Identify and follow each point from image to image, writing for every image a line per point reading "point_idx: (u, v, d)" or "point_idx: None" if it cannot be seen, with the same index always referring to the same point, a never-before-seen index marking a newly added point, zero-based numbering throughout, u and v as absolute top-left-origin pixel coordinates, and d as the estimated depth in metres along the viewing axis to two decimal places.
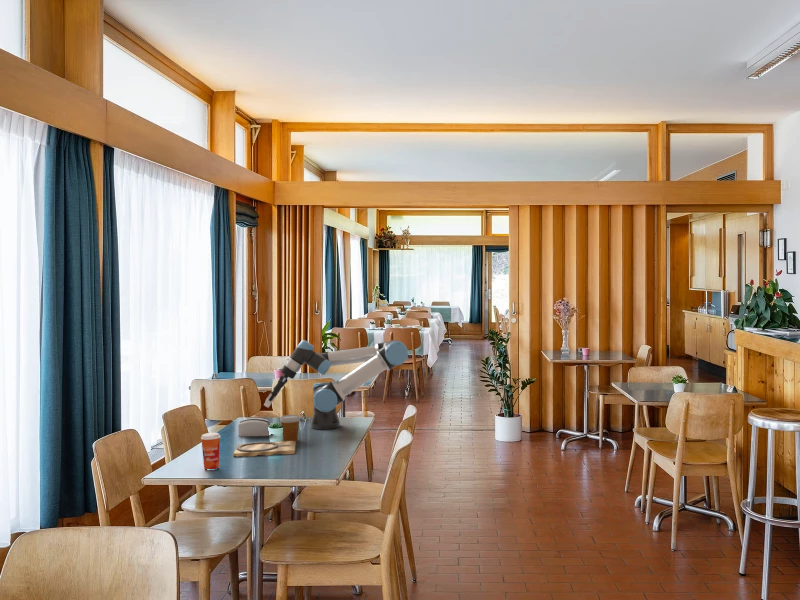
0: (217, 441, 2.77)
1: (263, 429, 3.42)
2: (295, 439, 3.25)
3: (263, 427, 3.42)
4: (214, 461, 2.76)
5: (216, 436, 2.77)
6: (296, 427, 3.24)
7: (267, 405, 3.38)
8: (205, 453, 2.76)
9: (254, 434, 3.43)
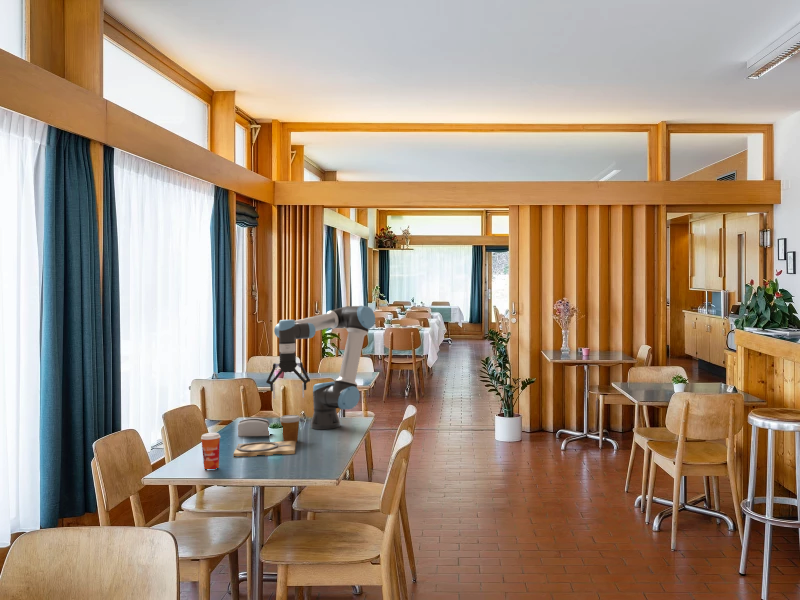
0: (217, 441, 2.77)
1: (263, 429, 3.42)
2: (295, 439, 3.25)
3: (263, 427, 3.42)
4: (214, 461, 2.76)
5: (216, 436, 2.77)
6: (296, 427, 3.24)
7: None
8: (205, 453, 2.76)
9: (254, 434, 3.43)
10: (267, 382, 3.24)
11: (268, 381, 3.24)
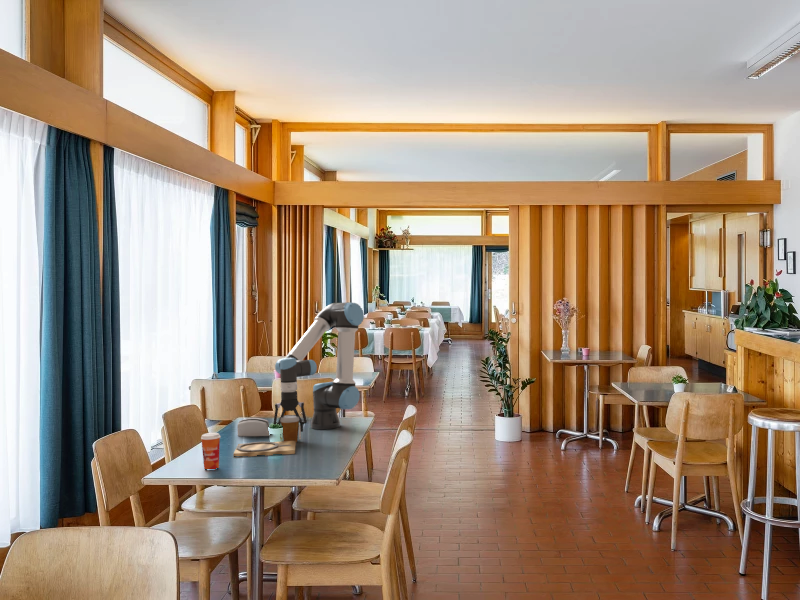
0: (217, 441, 2.77)
1: (262, 429, 3.42)
2: (295, 439, 3.25)
3: (262, 427, 3.42)
4: (214, 461, 2.76)
5: (216, 436, 2.77)
6: (296, 427, 3.24)
7: None
8: (205, 453, 2.76)
9: (253, 434, 3.43)
10: None
11: (275, 423, 3.25)
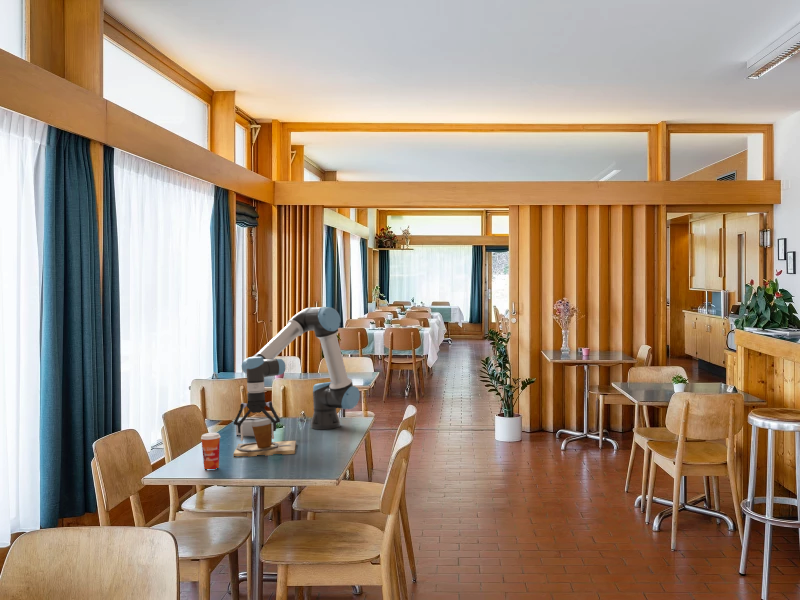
0: (217, 441, 2.77)
1: None
2: (269, 442, 3.08)
3: None
4: (214, 461, 2.76)
5: (216, 436, 2.77)
6: (268, 430, 3.08)
7: None
8: (205, 453, 2.76)
9: (251, 434, 3.44)
10: (234, 423, 3.07)
11: (235, 422, 3.07)
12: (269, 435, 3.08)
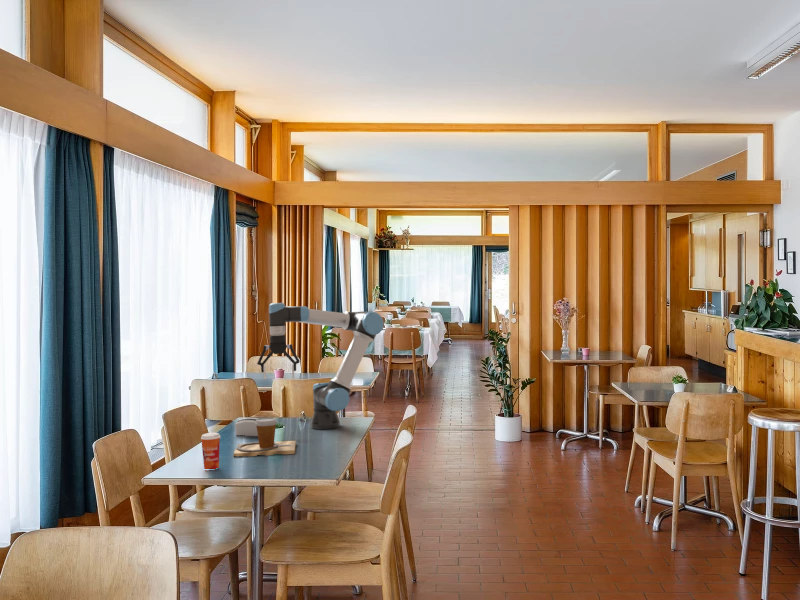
0: (217, 441, 2.77)
1: None
2: (271, 443, 3.08)
3: None
4: (214, 461, 2.76)
5: (216, 436, 2.77)
6: (272, 431, 3.08)
7: None
8: (205, 453, 2.76)
9: (250, 434, 3.44)
10: (258, 363, 3.35)
11: (259, 362, 3.35)
12: (272, 436, 3.08)
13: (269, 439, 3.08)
